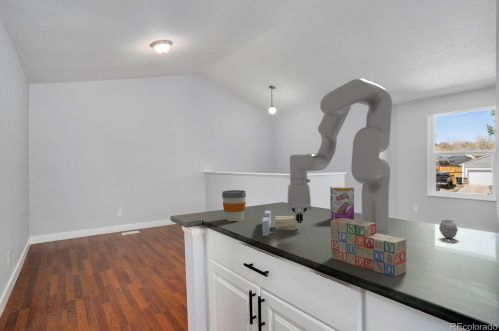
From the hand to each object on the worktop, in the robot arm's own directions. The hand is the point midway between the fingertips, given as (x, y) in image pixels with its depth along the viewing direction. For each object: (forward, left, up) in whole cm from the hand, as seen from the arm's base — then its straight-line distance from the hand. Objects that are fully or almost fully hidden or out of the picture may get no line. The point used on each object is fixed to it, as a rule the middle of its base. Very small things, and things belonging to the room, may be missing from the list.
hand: (299, 222), depth 142 cm
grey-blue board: (0, +15, -3) cm, 15 cm away
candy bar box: (+20, -22, -3) cm, 30 cm away
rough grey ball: (-16, -55, -3) cm, 58 cm away
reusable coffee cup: (+20, +33, -3) cm, 38 cm away
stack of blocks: (-47, -17, -3) cm, 50 cm away
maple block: (+1, +6, -3) cm, 7 cm away
